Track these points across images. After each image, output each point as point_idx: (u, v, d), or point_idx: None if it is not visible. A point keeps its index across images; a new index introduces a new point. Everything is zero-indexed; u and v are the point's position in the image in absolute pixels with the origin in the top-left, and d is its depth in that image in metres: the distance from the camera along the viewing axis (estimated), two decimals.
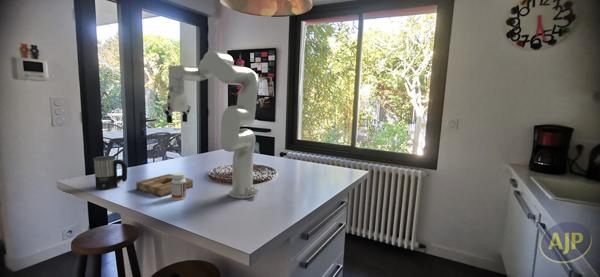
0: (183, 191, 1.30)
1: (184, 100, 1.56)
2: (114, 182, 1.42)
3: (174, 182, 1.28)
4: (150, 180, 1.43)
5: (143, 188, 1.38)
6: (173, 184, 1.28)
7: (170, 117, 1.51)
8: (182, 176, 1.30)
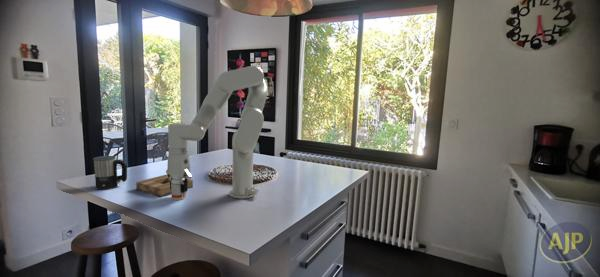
0: None
1: None
2: (114, 182, 1.42)
3: (174, 182, 1.28)
4: (150, 180, 1.43)
5: (143, 188, 1.38)
6: (173, 184, 1.28)
7: (186, 185, 1.31)
8: None
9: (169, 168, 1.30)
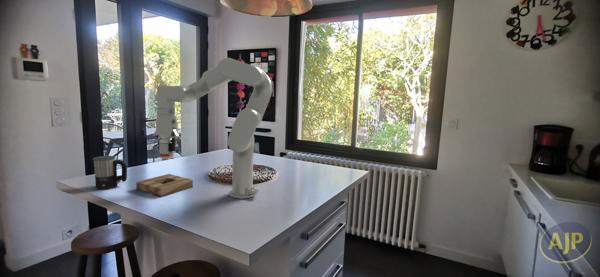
0: None
1: None
2: (114, 182, 1.42)
3: (162, 141, 1.35)
4: (150, 180, 1.43)
5: (143, 188, 1.38)
6: (161, 143, 1.35)
7: None
8: None
9: (157, 128, 1.36)
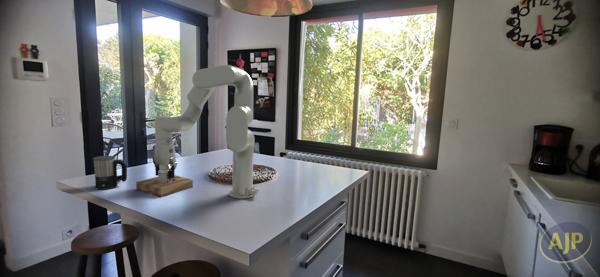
0: (169, 181, 1.42)
1: None
2: (114, 182, 1.42)
3: (160, 172, 1.40)
4: (150, 180, 1.43)
5: (143, 188, 1.38)
6: (160, 174, 1.40)
7: (173, 171, 1.42)
8: None
9: (156, 157, 1.41)
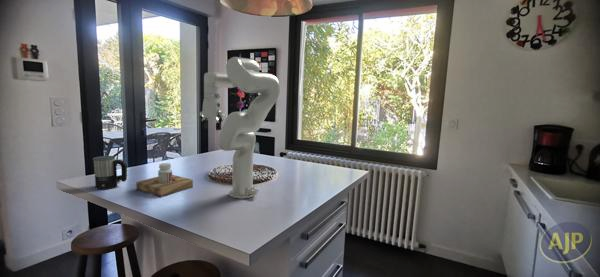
0: (169, 181, 1.42)
1: None
2: (114, 182, 1.42)
3: (160, 172, 1.40)
4: (150, 180, 1.43)
5: (143, 188, 1.38)
6: (160, 174, 1.40)
7: (220, 124, 1.54)
8: (168, 166, 1.41)
9: (204, 111, 1.54)
